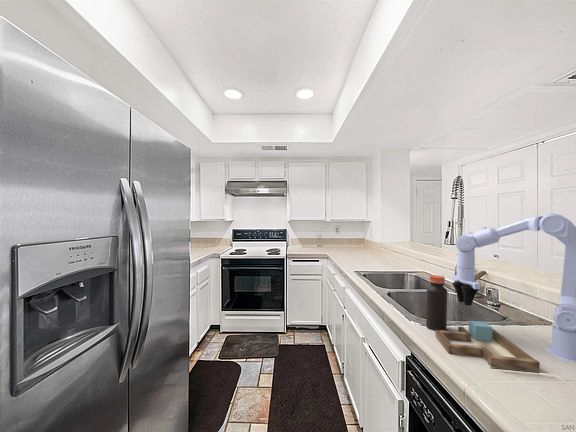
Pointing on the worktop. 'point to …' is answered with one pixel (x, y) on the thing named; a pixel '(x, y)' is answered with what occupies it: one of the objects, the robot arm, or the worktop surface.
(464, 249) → the robot arm
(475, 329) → the block
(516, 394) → the worktop surface
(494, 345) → the wooden zigzag frame
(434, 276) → the bottle
